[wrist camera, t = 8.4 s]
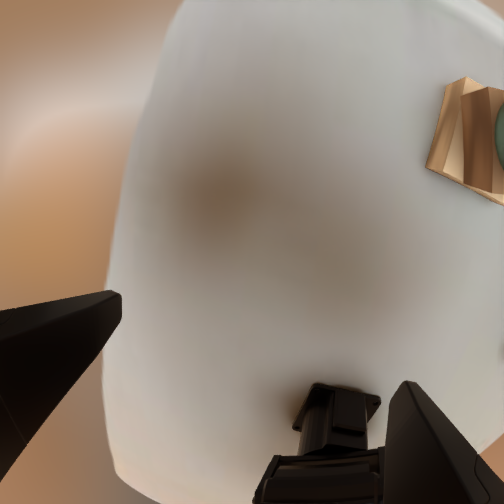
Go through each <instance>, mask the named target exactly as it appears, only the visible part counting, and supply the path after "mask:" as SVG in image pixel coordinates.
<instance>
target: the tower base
mask: <svg viewBox="0 0 504 504" xmlns="http://www.w3.org/2000/svg"><path fill="white" fill-rule="evenodd" d="M483 88H485V87H483V86H482V85H480V84H478V83H476V82H475V81H473V80H471V79H469V78H468V77H464V78H462V79H460V80H458V81H455V82H453V83H451V84H449V85H447V86H446V91H445V95H444V100H443V104H442V108H441V112H440V116H439V120H438V124H437V128H436V132H435V136H434V139H433V143H432V146H431V150H430V153H429V156H428V160H427V163H426V166H425V168H428V169H430V170H432V171H434V172H436V173H438V174H441V175H443V176H445V177H447V178H449V179H451V180H453V181H455V182H457V183H459V184H461V185H463V186H465V187H467V188H469V189H471V190H473V191H475V192H476V193H478V194H480V195H482V196H484V197H486V198H487V199H489V200H491V201H493V202H495V203H498V204H500V205H502V206H504V195H503V194H492V193H489V192H486V191H484V190H481V189H478V188H475V187H472V186H469V185H466V184H463V180H464V147H463V124H462V110H461V100H460V96H461V95H464V94H467V93H470V92H473V91H476V90H479V89H483Z"/></svg>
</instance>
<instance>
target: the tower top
mask: <svg viewBox="0 0 504 504" xmlns="http://www.w3.org/2000/svg"><path fill="white" fill-rule="evenodd" d="M460 100H461V110H462V124H463V147H464V180H463V184H466V185H469V186H472V187H475V188H478V189H481V190H484V191H486V192H489V193H492V194H503V195H504V170H503V169H502V166H501V164H500V161H499V159H498V155H497V151H496V146H495V122H496V117H497V114H498V112H499V109H500V107H501V106H502V104H503V103H504V90H500V89H496V88H491V87H486V88H483V89H479V90H476V91H473V92H470V93H467V94H464V95H461V96H460Z"/></svg>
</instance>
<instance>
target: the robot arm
mask: <svg viewBox="0 0 504 504" xmlns="http://www.w3.org/2000/svg"><path fill="white" fill-rule="evenodd" d="M121 318H122V297H121V295H120V294H119V293H117V292H114V291H112V290H106V291H101V292H96V293H91V294H86V295H81V296H75V297H70V298H65V299H60V300H55V301H50V302H44V303H39V304H34V305H29V306H23V307H18V308H16V309H15V308H12V309H7V310H1V311H0V482H1V480H2V479H3V477H4V476H5V475H6V473H7V472H8V470H9V469H10V467H11V466H12V465H13V463H14V462H15V461H16V459H17V458H18V456H19V455H20V454H21V453H22V451H23V450H24V448H25V447H26V446H27V444H28V443H29V441H30V440H31V439H32V437H33V436H34V435H35V433H36V432H37V431H38V430H39V428H40V427H41V426H42V424H43V423H44V422H45V420H46V419H47V418H48V417H49V415H50V414H51V413H52V411H53V410H54V409H55V408H56V406H57V405H58V404H59V403H60V401H61V400H62V399H63V397H64V396H65V395H66V394H67V392H68V391H69V390H70V389H71V387H72V386H73V385H74V384H75V382H76V381H77V380H78V379H79V378H80V376H81V375H82V374H83V373H84V372H85V370H86V369H87V368H88V367H89V365H90V364H91V363H92V362H93V361H94V359H95V358H96V357H97V356H98V354H99V353H100V351H101V350H102V348H103V347H104V345H105V344H106V342H107V341H108V339H109V338H110V336H111V335H112V333H113V332H114V330H115V329H116V327H117V326H118V324H119V323H120V321H121ZM316 389H319V390H316ZM380 405H381V399H380V398H379V397H376V396H371V395H366V394H361V393H356V392H352V391H347V390H343V389H338V388H334V387H330V386H326V385H322V384H314V385H313V386H312V387H311V389H310V391H309V393H308V395H307V397H306V399H305V401H304V403H303V405H302V407H301V409H300V411H299V413H298V415H297V417H296V419H295V420H294V422H293V425H292V429H293V430H295V431H299V432H301V437H300V443H299V449H298V455H297V456H281V455H274V456H273V458H272V460H271V462H270V463H269V465H268V467H267V469H266V471H265V473H264V475H263V477H262V479H261V481H260V483H259V485H258V487H257V489H256V491H255V496H254V497H253V499H252V503H253V504H504V482H503V481H502V480H501V479H500V478H499V477H498V476H497V475H496V474H495V473H494V472H493V471H492V469H491V468H490V467H489V466H488V465H487V464H486V462H485V461H484V460H483V459H482V458H481V457H480V455H479V454H477V452H476V451H475V449H474V448H473V447H472V446H471V445H470V443H469V442H468V441H467V440H466V439H465V438H464V436H463V435H462V434H461V433H460V432H459V431H458V429H457V428H456V427H455V426H454V425H453V424H452V422H451V421H450V420H449V419H448V418H447V417H446V416H445V414H444V413H443V412H442V411H441V410H440V409H439V408H438V406H437V405H436V404H435V403H434V402H433V401H432V400H431V398H430V397H429V396H428V395H427V394H426V393H425V392H424V391H423V389H422V388H421V387H420V386H419V385H418V384H417V383H416V382H412V381H407V380H406V381H403V382H402V383H401V385H400V386H399V388H398V389H397V391H396V392H395V394H394V395H393V397H392V398H391V400H390V404H389V413H388V424H387V433H386V443H385V446H383V447H378V448H377V449H370V450H368V437H367V430H368V428H367V423H368V422H369V420H370V419H371V417H372V416H373V415H374V413H375V412H376V410H377V409H378V408H379V406H380Z"/></svg>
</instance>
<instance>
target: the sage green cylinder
mask: <svg viewBox="0 0 504 504" xmlns="http://www.w3.org/2000/svg"><path fill="white" fill-rule="evenodd" d="M495 146H496V151H497V155H498V159H499V161H500V164H501V166H502V169H503V170H504V103H503V104H502V106H501V107H500V109H499V112H498V114H497V117H496V122H495Z"/></svg>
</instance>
